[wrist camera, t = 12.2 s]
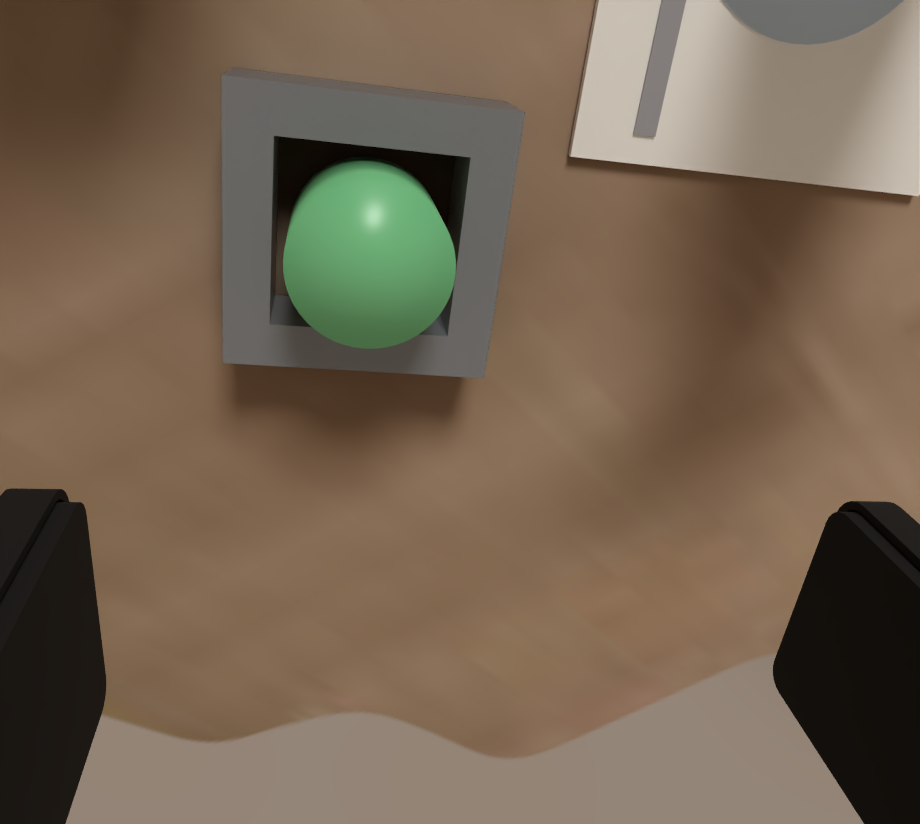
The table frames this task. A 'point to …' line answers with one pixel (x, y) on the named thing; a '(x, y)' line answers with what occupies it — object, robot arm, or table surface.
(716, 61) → the drawing sheet
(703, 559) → the table surface
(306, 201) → the button
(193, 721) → the table surface
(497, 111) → the button housing
